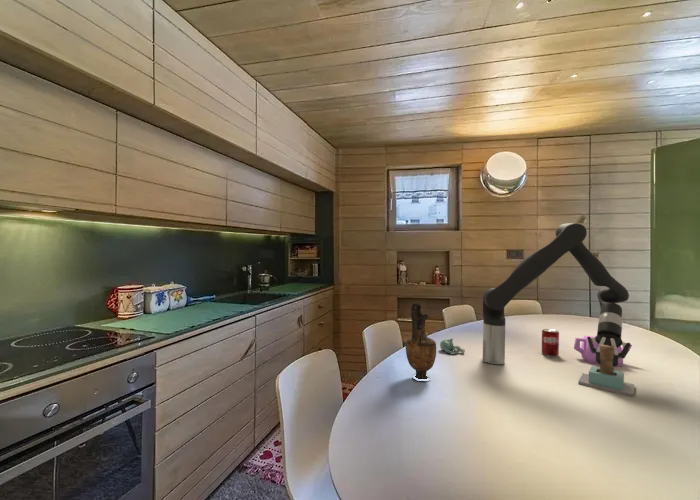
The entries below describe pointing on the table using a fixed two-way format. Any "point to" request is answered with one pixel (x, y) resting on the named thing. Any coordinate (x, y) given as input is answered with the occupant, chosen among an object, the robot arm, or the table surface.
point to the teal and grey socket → (607, 381)
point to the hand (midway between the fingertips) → (606, 363)
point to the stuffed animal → (450, 346)
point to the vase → (420, 344)
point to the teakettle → (587, 352)
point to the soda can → (550, 342)
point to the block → (606, 359)
